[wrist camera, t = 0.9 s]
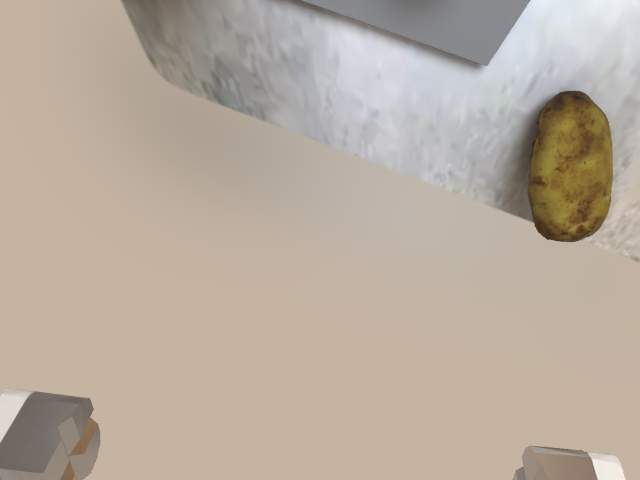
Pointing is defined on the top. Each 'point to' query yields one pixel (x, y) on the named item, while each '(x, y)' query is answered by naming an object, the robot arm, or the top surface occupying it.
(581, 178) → the potato
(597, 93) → the top surface
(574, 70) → the top surface
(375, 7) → the tuner board
